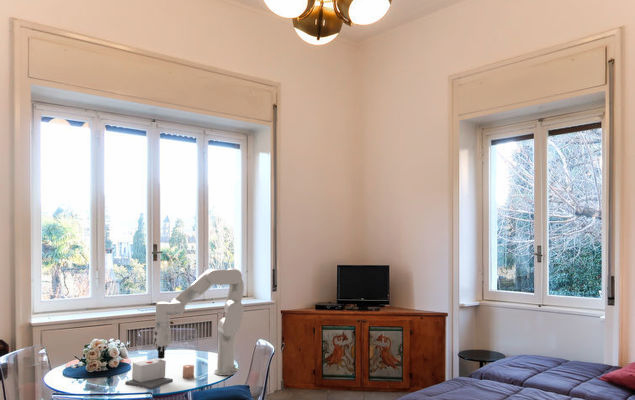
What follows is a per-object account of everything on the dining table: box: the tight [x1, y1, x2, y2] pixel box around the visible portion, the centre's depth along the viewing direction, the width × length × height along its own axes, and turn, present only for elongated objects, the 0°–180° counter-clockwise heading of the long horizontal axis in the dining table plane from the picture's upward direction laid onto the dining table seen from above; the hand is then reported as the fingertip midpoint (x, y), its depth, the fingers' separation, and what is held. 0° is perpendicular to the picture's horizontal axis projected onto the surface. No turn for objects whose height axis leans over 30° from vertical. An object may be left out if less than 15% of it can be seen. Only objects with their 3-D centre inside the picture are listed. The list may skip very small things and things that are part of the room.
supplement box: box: [131, 357, 167, 382], centre depth 283 cm, size 9×9×15 cm
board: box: [125, 377, 173, 390], centre depth 279 cm, size 18×16×1 cm
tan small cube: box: [182, 364, 195, 380], centre depth 291 cm, size 6×6×6 cm
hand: (161, 358), depth 287 cm, fingers closed
